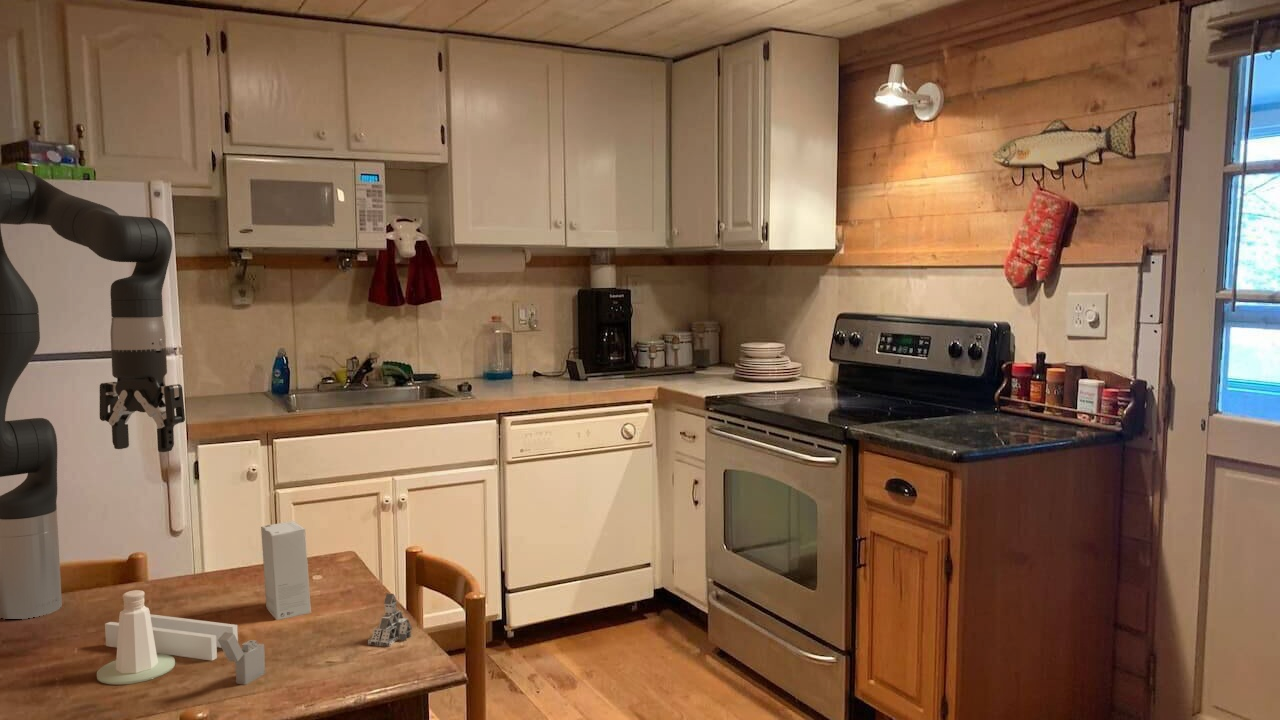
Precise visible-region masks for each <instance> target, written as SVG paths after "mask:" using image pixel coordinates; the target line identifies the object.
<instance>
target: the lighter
mask: <svg viewBox="0 0 1280 720" xmlns="http://www.w3.org/2000/svg"><path fill="white" fill-rule="evenodd" d="M218 641H219V643H220V645H221V647H222V648H221V650H222V651H223V652H224V656H225V657H226V659H227V660H228V662H234V663H235V682H236V683H235V684H237V685H248V684H249V683H252V682H253V681H255V680H257V679H258V678H261V677H262V676H263V675H266V663H265V661H266V660H265V659H266V658H265V656H266V655H265V644H264V643H259V642H258V640H255V639H249V640H247V641H245V642H243V643H242V644H241V645H240V643H239V640H238V641H237V639H236V637H235V635H234V634H233V633H227V632H224V634H223V635H222V636H221V637H220V638H219V639H218Z"/></svg>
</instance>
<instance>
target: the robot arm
mask: <svg viewBox="0 0 1280 720" xmlns="http://www.w3.org/2000/svg"><path fill="white" fill-rule="evenodd" d="M1 224H2V225H3V224H4V225H29V224H30V225H32V224H33V225H46V226H50V228H52V230H53V231H54V232H55V233H56V234H57V235H59V236H60V237H61V238H63V239H64V240H66V241H69V242H72V243H75V244H78V245H80V246H83V247H86V248H88V249H89V250H90V251H92V252H93V253H94V254H95V255H97V256H98V257H100V258H102V259H104V260H107V261H111V262H118V263H135V265H134V269H133V271H132V274H131V275H129V276H126V277H123V278H119V279H116V280H114V281H113V282H112V283H111V285H110V291H109V292H110V293H109V294H110V311H111V312H110V313H111V324H110V352H111V353H110V354H111V373H112V377H114V378H115V379H117V381H111V382H110V381H109V382H108V381H107V382H102V383H100V384H99V419H100V421H102V422H108V423H109V425H110V426H111V439H112V441H111V442H112V444H113V448H114V449H115V450H124V449H128V448H129V446H130V441H129V440H130V439H129V423H128V421H129V419H130V418H131V416H132V415H133V414H134V413H135V412H139V413H146V414H147V415H148V417H149V418H152V419H153V421H154V422H155V424H156V425H157V427H158V428H157V429H156V434H157V451H158V452H159V453H167V452H170V451H172V450H173V448H174V445H175V440H174V439H175V437H174V436H175V435H174V427H175V426H176V425H179V424H182V423H184V422H185V420H186V414H185V404H184V403H185V402H184V395H183V393H184V392H183V391H184V390H183V385H181V384H180V383H178V384H177V383H176V384H169V385H166V384H165V381H164V377H165V376H166V375H167V374H168V365H167V364H168V363H167V362H168V361H167V359H168V358H167V342H166V341H167V340H166V337H167V336H166V328H165V323H164V322H165V321H164V317H163V316H164V312H163V310H164V309H163V307H164V306H163V287H164V284H165V280H166V275H167V271H168V267H169V264H170V260H171V255H172V250H173V240H172V235H171V232H170V230H169V228H168V226H167V225H166V224H165V223H164V221H162V220H160V219H158V218H156V217H148V216H134V215H123V214H122V215H121V214H120V213H118V212H117V211H116V210H114V209H112V208H110V207H108V206H106V205H103V204H101V203H97V202H93V201H91V200H88V199H84V198H82V197H79V196H76V195H72V194H69V193H67V192H65V191H63V190H61V189H59V188H58V187H56V186H54V185H53V184H51V183H49V182H47V181H46V180H45V179H43V178H41V177H39V176H38V175H36V174H34V173H32V172H30V171H26V170H24V169H18V168H7V167H0V225H1ZM1 229H2V228H1V226H0V478H3V477H4V478H5V477H10V476H19V475H24V474H27V476H26V478H25V479H24V481H22V482H21V483H20V484H19V485H18V486H16V487H15V488H13V489H10V491H9V490H8V492H5V493H3V494H1V495H0V617H1V618H4V619H3V620H5V619H22V620H28V618H30V619H34V618H33V617H35V618H40V617H43V615H44V616H47V615H50V614H52V613H54V612H56V611H58V610H60V609H61V608H62V606H63V604H62V603H63V601H62V580H61V566H60V565H61V563H60V559H61V558H60V545H59V541H60V540H59V528H58V526H59V525H58V510H57V509H58V507H57V498H58V439H57V433H56V430H55V428H54V426H53V423H52V422H51V421H50V420H49V419H47V418H44V417H34V418H24V419H23V418H22V419H13V420H6V415H7V414H6V412H7V406H8V403H9V402H8V401H9V398H10V395H11V393H12V390H13V389H14V386H15V384H16V383H17V382H18V379H19V378H20V377H21V375H22V373H24V370H25V369H26V367H27V366H28V364H29V363H30V362H31V360H32V358H33V357H34V355H35V354H36V351H37V350H38V347H39V345H40V340H41V332H40V331H41V330H40V314H39V313H40V310H39V304H38V300H37V299H36V296H35V294H34V293H33V291H32V289H31V288H30V286H29V285H28V284H27V283H26V281H25V280H24V279H23V277H22V276H21V274H20V273H19V271H18V270H17V269H16V268H15V267H14V265H13V263H12V261H11V260H10V259H9V256H8V254H7V251H6V249H5V246H4V242H3V241H4V240H3V236H2V230H1ZM60 607H61V608H60ZM46 614H47V615H46ZM39 616H40V617H39ZM1 618H0V619H1Z"/></svg>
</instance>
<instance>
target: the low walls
mask: <svg viewBox="0 0 1280 720" xmlns="http://www.w3.org/2000/svg"><path fill="white" fill-rule="evenodd" d="M150 617H151V623H152V629H153V635H154V641H155V647H156V653H159V654H167V655H170V656H174V657H175V656H176V657H177V656H178V657H182V658H183V657H184V658H189V659H198V660H205V661H214V660H217V658H218V652H217V651H218V649H217V648H220V649H222V647H221V645H220V643H219V641H218V639H219V638H220V637H221V636H222V635H223V634H224V632H227V633H233V634H234V635H235V637H236V639H237V641H238V642H239V636H238V635H239V634H238V624H233V623H231V624H230V623H225V622H218V621H217V622H215V621H208V620H200V619H193V618H183V617H176V616H168V615H159V614H151V613H150ZM118 628H119V622H115V621H109V622H106V623H104V629H105V630H104V633H105V647H111V648H117V643H118Z"/></svg>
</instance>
